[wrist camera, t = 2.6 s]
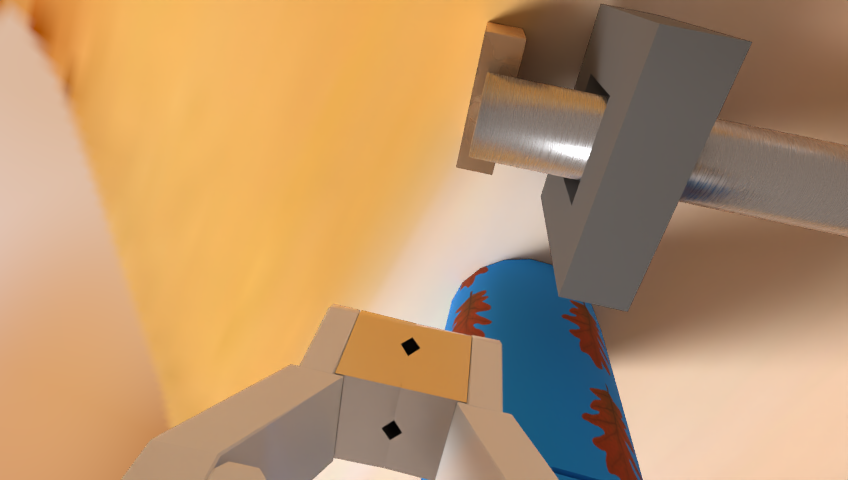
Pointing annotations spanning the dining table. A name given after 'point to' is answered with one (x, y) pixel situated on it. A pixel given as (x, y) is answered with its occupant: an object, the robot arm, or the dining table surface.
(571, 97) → the pipe rig
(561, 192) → the collar
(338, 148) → the dining table surface
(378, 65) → the dining table surface
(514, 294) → the thermos
